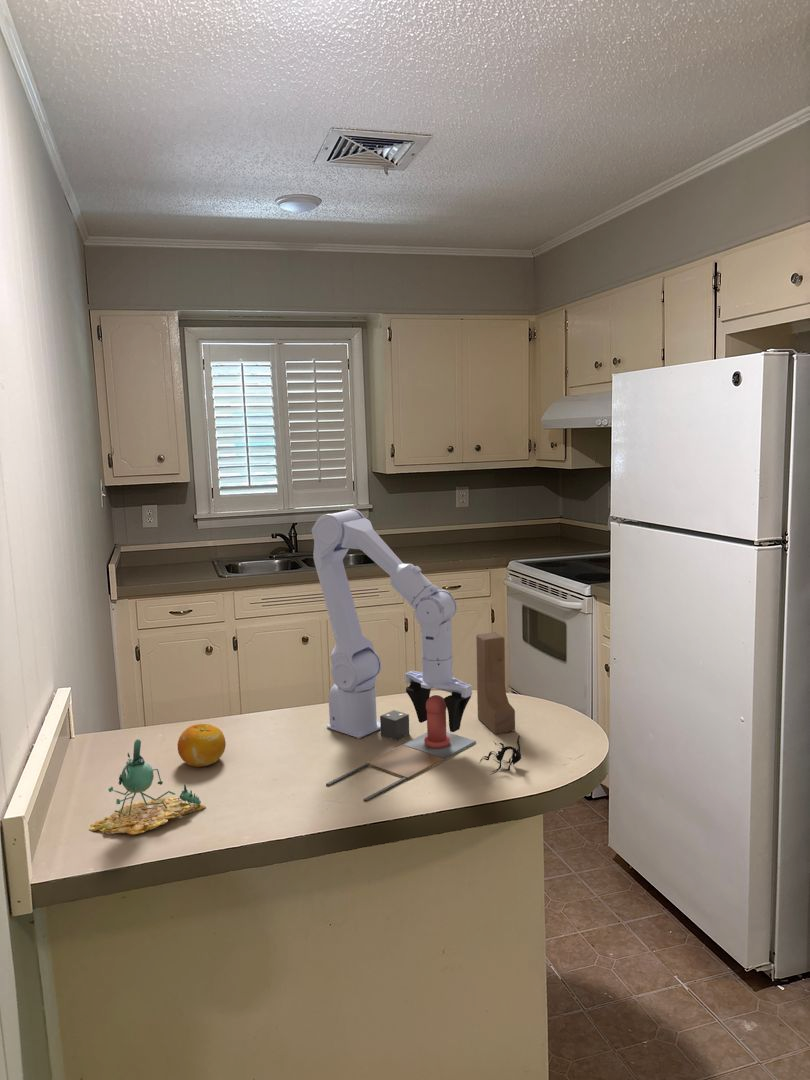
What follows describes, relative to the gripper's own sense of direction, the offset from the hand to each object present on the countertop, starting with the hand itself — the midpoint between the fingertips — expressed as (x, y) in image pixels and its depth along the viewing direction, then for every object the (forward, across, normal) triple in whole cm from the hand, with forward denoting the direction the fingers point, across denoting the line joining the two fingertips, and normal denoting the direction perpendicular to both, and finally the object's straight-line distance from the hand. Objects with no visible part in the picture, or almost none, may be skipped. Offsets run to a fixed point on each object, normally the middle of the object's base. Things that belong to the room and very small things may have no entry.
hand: (438, 725), depth 150 cm
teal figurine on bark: (+4, -18, -51) cm, 54 cm away
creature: (+4, +14, -1) cm, 15 cm away
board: (+4, 0, -10) cm, 11 cm away
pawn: (+3, 0, -1) cm, 3 cm away
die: (+4, -10, -2) cm, 11 cm away
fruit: (+4, -30, -32) cm, 44 cm away
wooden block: (+4, +3, +14) cm, 15 cm away
